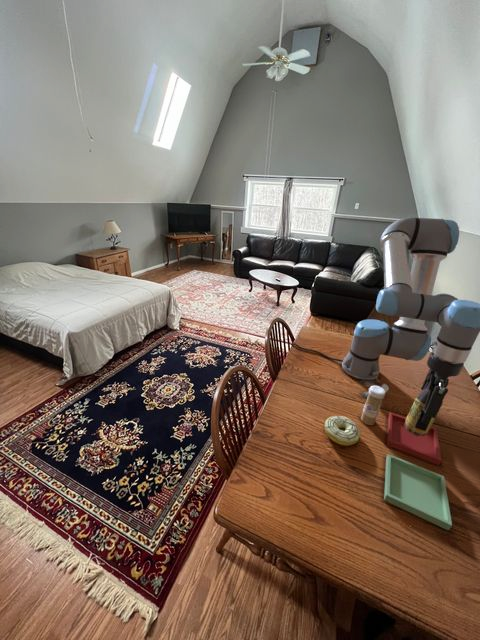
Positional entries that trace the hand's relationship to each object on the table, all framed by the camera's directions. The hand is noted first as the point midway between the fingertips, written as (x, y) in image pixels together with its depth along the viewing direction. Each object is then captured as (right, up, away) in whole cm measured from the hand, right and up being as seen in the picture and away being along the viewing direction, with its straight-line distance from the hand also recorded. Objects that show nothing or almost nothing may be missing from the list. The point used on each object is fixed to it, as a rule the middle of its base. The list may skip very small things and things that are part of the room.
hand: (419, 420), depth 82 cm
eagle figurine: (-4, +2, +23) cm, 23 cm away
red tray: (0, -7, +3) cm, 8 cm away
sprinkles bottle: (-11, -4, +10) cm, 15 cm away
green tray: (-9, -14, -12) cm, 20 cm away
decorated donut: (-23, -6, +4) cm, 24 cm away
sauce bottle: (0, -4, +2) cm, 4 cm away
